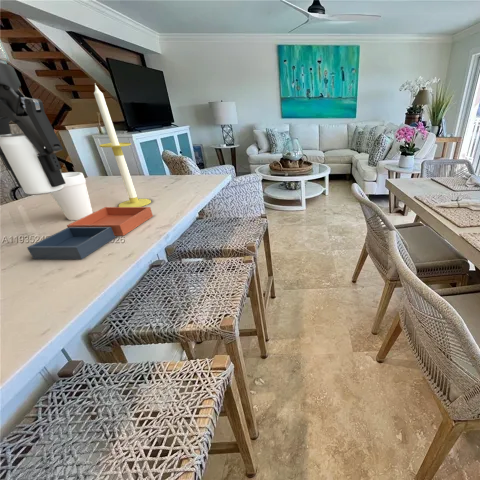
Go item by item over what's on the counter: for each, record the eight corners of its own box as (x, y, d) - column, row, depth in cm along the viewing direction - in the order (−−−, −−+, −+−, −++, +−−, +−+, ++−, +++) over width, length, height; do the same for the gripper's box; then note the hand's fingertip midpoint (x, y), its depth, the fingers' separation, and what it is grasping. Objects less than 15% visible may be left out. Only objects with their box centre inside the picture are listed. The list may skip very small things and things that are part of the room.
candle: (119, 210, 89) (71, 81, 72) (117, 202, 96) (74, 83, 79) (152, 204, 94) (116, 82, 77) (149, 197, 101) (114, 84, 84)
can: (17, 194, 58) (-15, 135, 52) (50, 186, 63) (25, 132, 58) (39, 196, 56) (9, 136, 51) (71, 188, 62) (47, 133, 56)
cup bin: (71, 235, 72) (66, 225, 70) (108, 216, 84) (105, 207, 83) (123, 235, 72) (119, 225, 70) (153, 216, 84) (150, 207, 83)
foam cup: (60, 216, 84) (40, 175, 78) (96, 209, 90) (80, 170, 84) (62, 224, 78) (41, 181, 72) (101, 216, 84) (84, 175, 78)
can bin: (33, 259, 61) (26, 247, 59) (73, 237, 71) (68, 227, 69) (82, 259, 61) (76, 247, 59) (115, 237, 71) (111, 226, 69)
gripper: (-100, 59, 45) (-20, 190, 56) (14, 58, 45) (72, 189, 56) (-46, 65, 52) (16, 181, 62) (53, 64, 52) (98, 180, 62)
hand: (42, 185), depth 59 cm, fingers closed on can, 6 cm apart
